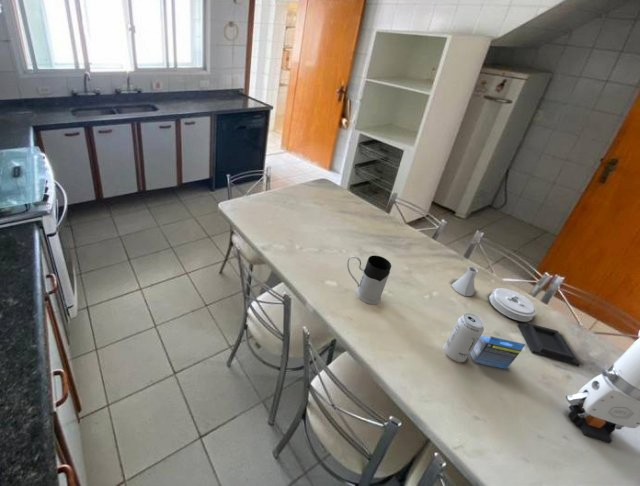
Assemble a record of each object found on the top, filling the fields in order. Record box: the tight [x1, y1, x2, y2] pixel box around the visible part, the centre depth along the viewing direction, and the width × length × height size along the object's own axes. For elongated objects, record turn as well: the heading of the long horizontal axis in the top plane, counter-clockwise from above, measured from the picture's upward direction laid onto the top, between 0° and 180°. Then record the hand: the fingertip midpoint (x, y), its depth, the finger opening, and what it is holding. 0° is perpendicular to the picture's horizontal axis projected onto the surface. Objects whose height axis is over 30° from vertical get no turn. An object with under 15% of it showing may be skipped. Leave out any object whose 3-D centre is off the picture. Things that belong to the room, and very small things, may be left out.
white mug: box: [346, 255, 392, 306], centre depth 115 cm, size 9×14×15 cm, turn 60°
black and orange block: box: [568, 404, 613, 445], centre depth 81 cm, size 5×7×5 cm
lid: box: [488, 287, 537, 323], centre depth 116 cm, size 13×13×5 cm
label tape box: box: [469, 335, 526, 370], centre depth 94 cm, size 9×4×12 cm, turn 78°
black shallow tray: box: [517, 322, 581, 367], centre depth 104 cm, size 12×11×2 cm
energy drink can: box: [443, 313, 485, 363], centre depth 95 cm, size 6×6×15 cm
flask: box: [451, 266, 479, 297], centre depth 121 cm, size 7×7×10 cm
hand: (586, 426), depth 82 cm, fingers closed on black and orange block, 5 cm apart
